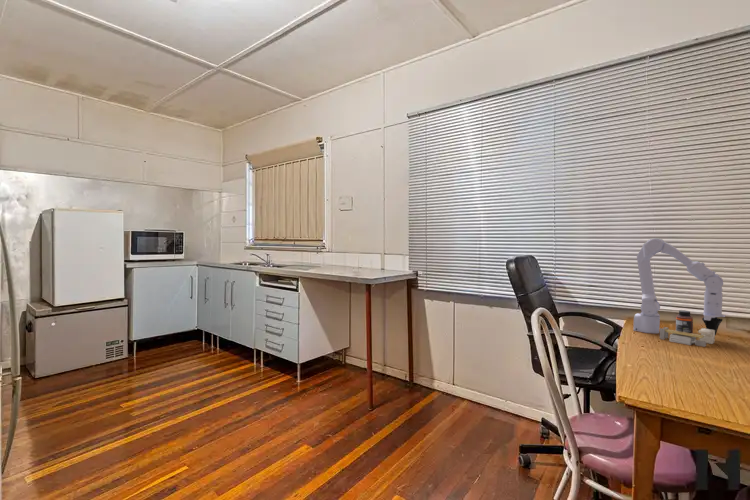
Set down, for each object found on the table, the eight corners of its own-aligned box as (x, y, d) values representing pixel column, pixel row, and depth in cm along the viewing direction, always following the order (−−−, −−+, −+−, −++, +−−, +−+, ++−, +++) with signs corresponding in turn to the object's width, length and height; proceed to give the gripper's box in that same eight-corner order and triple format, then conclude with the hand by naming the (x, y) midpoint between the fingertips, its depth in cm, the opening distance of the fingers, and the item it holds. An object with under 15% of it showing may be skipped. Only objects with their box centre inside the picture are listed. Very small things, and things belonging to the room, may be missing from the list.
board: (650, 344, 161) (650, 330, 160) (670, 336, 173) (670, 323, 173) (698, 354, 148) (699, 339, 147) (716, 345, 160) (717, 331, 160)
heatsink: (669, 341, 161) (669, 334, 161) (675, 339, 165) (675, 332, 165) (690, 345, 155) (690, 338, 155) (696, 342, 159) (696, 335, 159)
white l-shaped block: (696, 343, 158) (696, 330, 158) (702, 340, 162) (702, 328, 162) (708, 345, 154) (709, 332, 154) (714, 342, 158) (714, 330, 158)
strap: (663, 331, 164) (663, 329, 164) (665, 330, 166) (665, 328, 166) (701, 338, 154) (701, 336, 154) (703, 337, 155) (703, 335, 155)
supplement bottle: (686, 334, 178) (687, 309, 177) (695, 337, 172) (696, 312, 171) (672, 333, 178) (673, 309, 178) (681, 337, 172) (682, 312, 172)
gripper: (720, 306, 155) (718, 340, 155) (730, 302, 163) (729, 334, 164) (698, 303, 160) (696, 336, 161) (709, 300, 169) (708, 331, 169)
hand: (711, 335), depth 163 cm, fingers closed
